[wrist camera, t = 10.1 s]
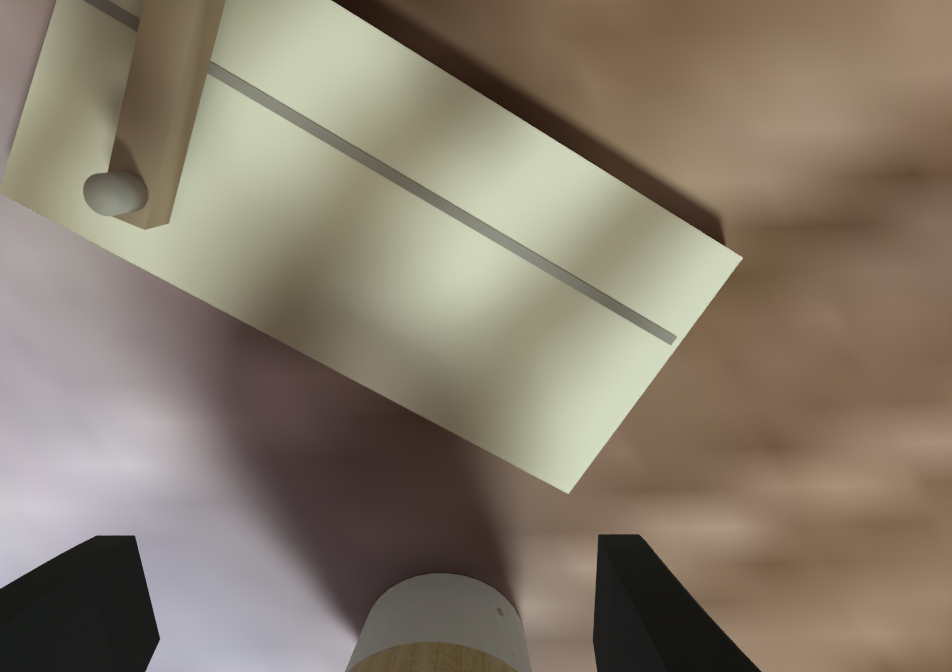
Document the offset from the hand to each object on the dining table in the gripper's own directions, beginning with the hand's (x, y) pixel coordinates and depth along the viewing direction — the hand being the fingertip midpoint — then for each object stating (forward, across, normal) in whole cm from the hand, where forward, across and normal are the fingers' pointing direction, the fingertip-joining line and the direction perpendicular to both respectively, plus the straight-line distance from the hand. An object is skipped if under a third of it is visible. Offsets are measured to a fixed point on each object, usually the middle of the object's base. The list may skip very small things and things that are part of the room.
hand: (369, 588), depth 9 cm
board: (+10, +1, -4) cm, 11 cm away
